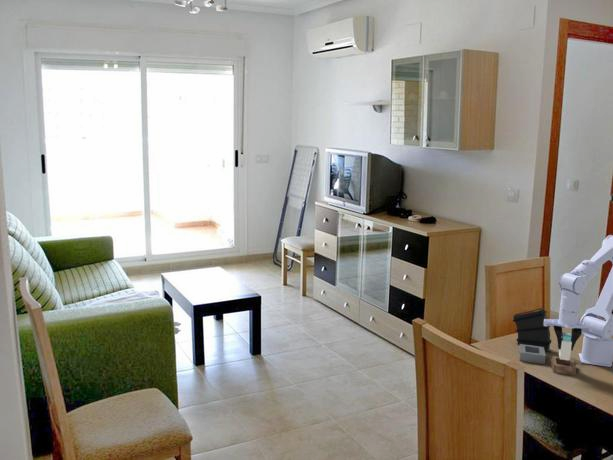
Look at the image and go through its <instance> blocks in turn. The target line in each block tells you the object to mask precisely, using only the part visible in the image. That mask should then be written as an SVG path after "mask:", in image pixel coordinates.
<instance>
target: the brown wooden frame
mask: <svg viewBox="0 0 613 460" xmlns="http://www.w3.org/2000/svg"><path fill="white" fill-rule="evenodd" d="M550 363H551V367H552V372H553V373H557V374H565V375H570V376H575V375H576V365H575V362H574V359H573V358H570V361H569V360H562V359H560V357H559V356H554V355H553V356H551V362H550Z"/></svg>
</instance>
